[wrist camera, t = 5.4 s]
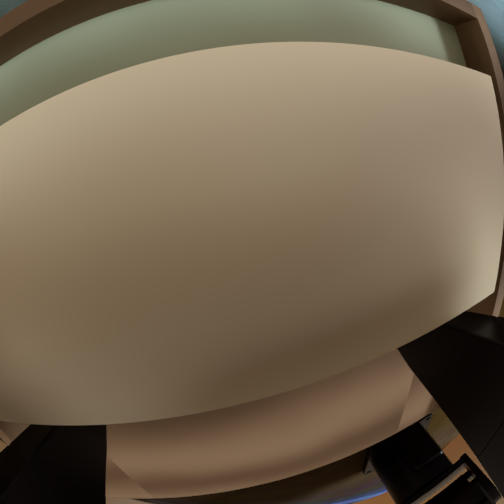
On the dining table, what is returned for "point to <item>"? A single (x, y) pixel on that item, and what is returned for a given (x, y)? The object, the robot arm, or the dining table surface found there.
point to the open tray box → (213, 36)
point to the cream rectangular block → (239, 226)
